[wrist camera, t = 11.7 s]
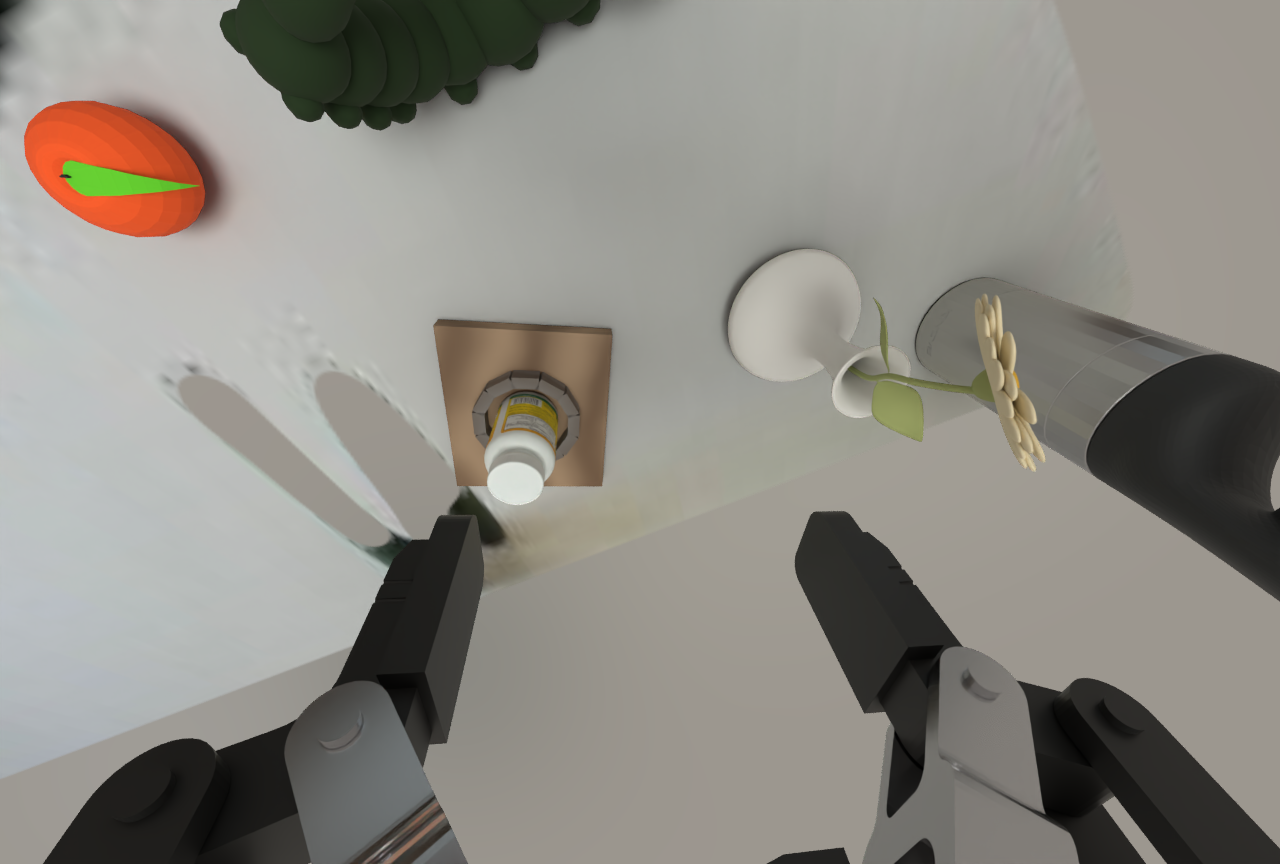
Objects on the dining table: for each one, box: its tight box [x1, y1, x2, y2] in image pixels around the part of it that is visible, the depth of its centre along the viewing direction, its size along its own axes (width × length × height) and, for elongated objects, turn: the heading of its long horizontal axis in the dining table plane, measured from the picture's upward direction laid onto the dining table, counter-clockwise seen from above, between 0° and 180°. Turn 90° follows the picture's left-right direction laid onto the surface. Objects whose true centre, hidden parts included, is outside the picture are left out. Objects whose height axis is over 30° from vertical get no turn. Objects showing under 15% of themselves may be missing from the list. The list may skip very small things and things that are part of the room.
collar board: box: [433, 319, 612, 486], centre depth 40 cm, size 14×16×3 cm
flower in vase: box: [728, 249, 1045, 472], centre depth 29 cm, size 13×11×25 cm
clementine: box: [24, 101, 205, 237], centre depth 26 cm, size 8×7×7 cm
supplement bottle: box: [484, 391, 558, 505], centre depth 36 cm, size 5×5×10 cm
